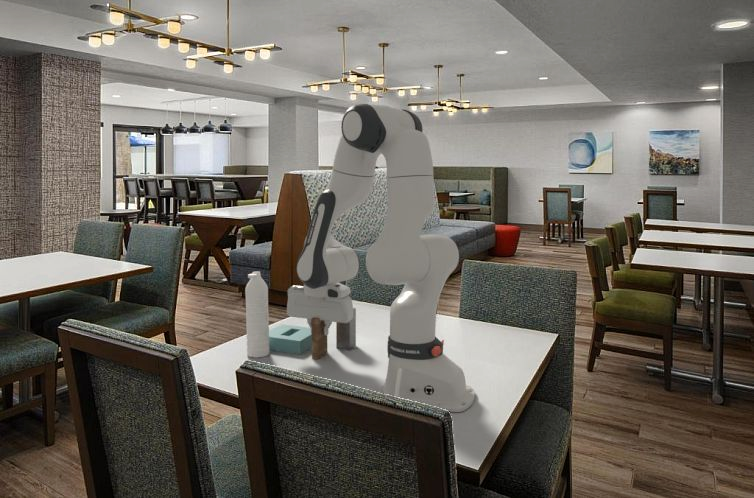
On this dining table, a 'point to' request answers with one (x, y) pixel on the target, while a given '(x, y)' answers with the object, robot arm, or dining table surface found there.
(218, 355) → the dining table surface
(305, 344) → the socket block
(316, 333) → the walnut blade
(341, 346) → the square metal peg
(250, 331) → the water bottle
